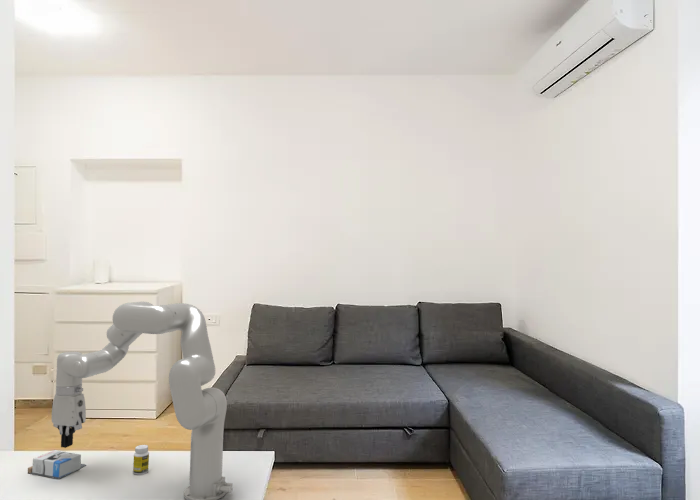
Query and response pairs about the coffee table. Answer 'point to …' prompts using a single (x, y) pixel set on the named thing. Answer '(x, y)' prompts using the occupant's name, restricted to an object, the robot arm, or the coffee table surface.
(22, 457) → the coffee table surface
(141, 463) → the supplement bottle
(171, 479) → the coffee table surface
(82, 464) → the mat
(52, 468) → the ink box
